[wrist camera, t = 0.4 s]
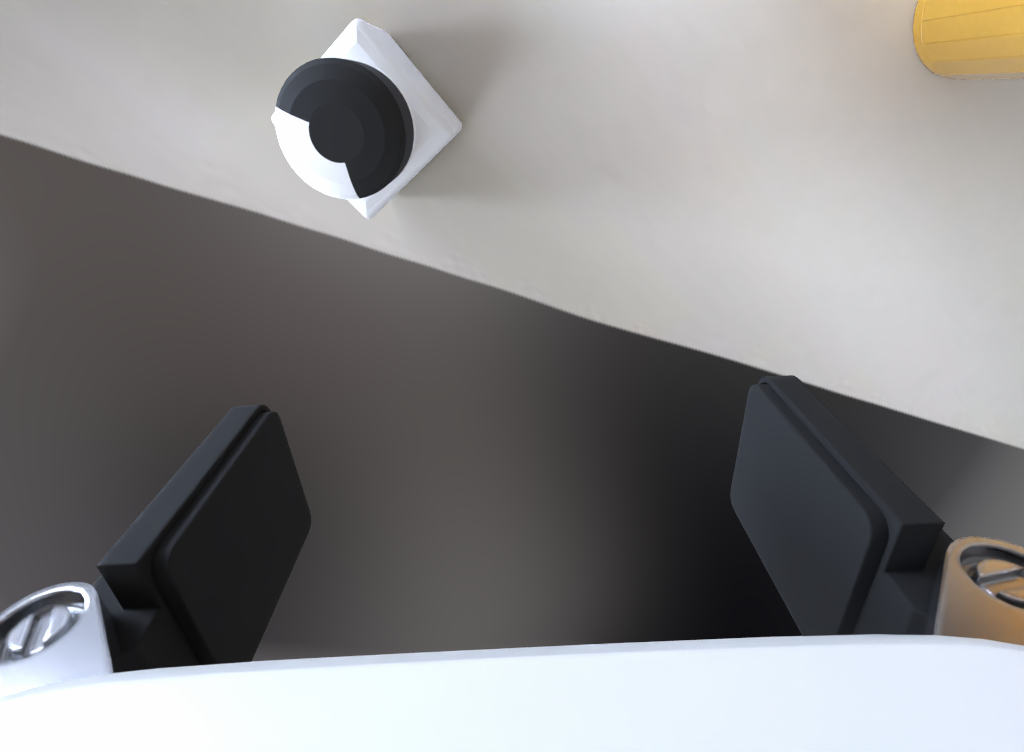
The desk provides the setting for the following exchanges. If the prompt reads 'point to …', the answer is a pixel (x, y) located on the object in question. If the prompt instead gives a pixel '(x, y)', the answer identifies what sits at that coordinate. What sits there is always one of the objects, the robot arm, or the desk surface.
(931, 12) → the mug
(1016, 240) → the desk surface
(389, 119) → the medicine bottle
